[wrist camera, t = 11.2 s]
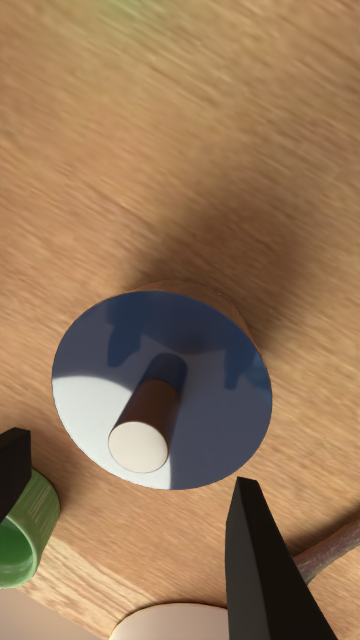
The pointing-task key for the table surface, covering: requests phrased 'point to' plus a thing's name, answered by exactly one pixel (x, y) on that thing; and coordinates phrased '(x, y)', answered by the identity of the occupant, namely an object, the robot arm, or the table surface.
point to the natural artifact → (327, 551)
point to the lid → (162, 389)
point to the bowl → (175, 623)
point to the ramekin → (27, 531)
